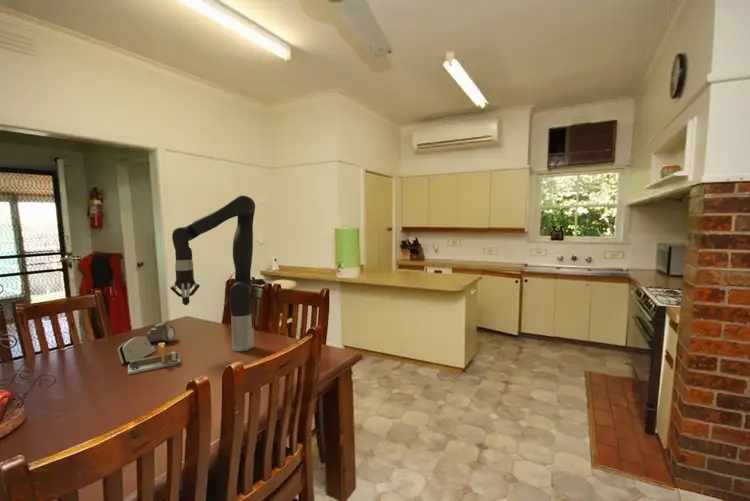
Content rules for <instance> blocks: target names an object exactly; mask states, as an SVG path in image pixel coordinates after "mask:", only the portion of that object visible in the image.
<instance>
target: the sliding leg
mask: <svg viewBox="0 0 750 501" xmlns="http://www.w3.org/2000/svg"><path fill="white" fill-rule="evenodd" d="M165 342H166V341H165ZM165 342H158V348H157V349H158V355H159V356H161V357H162V363H163V362H165V360H164V355H166V354H167V353H166V343H165Z"/></svg>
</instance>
